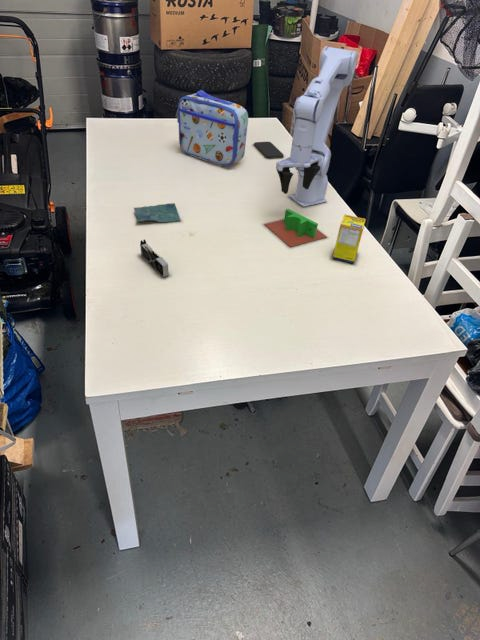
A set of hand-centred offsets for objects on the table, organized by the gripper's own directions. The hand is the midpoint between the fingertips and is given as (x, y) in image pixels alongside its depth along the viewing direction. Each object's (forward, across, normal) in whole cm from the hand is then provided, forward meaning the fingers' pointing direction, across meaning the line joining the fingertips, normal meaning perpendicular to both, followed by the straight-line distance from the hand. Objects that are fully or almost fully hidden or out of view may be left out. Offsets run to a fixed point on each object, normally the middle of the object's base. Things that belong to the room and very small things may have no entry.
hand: (295, 190), depth 135 cm
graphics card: (+10, -47, -6) cm, 48 cm away
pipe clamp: (+9, -3, -7) cm, 12 cm away
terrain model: (+10, -37, +16) cm, 42 cm away
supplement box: (+10, +2, -24) cm, 25 cm away
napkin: (+9, -3, -7) cm, 12 cm away
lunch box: (+10, -2, +50) cm, 51 cm away
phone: (+9, +23, +48) cm, 54 cm away
